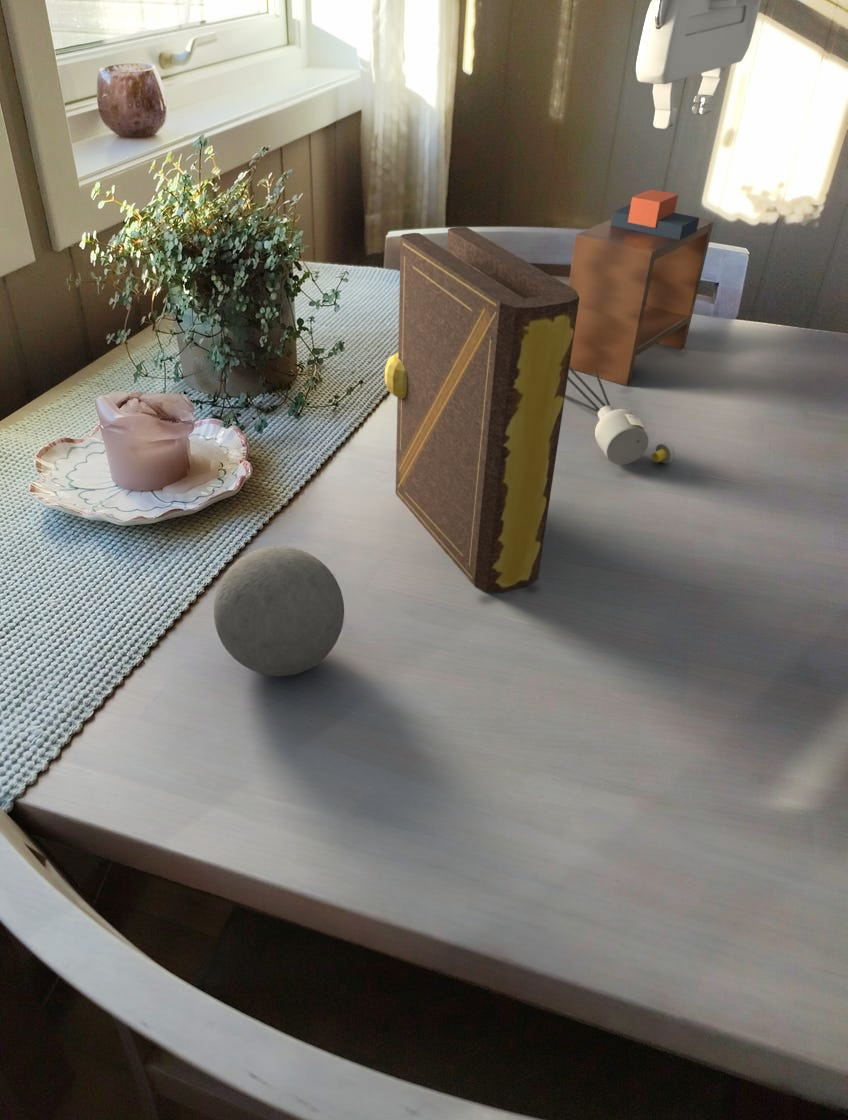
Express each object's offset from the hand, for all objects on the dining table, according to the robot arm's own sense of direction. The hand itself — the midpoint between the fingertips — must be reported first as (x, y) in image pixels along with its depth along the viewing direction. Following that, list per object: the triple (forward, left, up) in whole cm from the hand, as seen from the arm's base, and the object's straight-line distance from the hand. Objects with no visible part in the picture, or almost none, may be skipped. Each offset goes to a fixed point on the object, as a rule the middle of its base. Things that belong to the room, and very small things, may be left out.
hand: (682, 120), depth 100 cm
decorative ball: (-7, +73, -28) cm, 78 cm away
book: (-6, +48, -28) cm, 56 cm away
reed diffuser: (-6, +21, -28) cm, 35 cm away
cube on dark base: (+1, +1, -11) cm, 11 cm away
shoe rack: (+2, +1, -27) cm, 27 cm away
